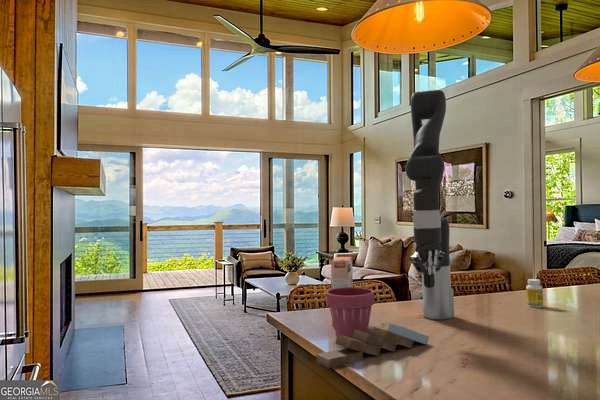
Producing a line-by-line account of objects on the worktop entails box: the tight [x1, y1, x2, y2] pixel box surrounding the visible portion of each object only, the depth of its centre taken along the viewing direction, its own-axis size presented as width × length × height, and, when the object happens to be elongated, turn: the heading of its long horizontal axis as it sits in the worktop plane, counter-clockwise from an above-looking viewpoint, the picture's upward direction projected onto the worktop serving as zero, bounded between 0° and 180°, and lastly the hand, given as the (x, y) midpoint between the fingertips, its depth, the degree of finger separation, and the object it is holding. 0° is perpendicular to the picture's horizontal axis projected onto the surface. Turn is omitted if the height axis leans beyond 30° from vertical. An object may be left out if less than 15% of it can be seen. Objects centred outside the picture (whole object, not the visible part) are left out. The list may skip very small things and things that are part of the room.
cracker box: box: [330, 256, 354, 327], centre depth 156 cm, size 14×6×21 cm, turn 168°
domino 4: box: [370, 326, 415, 349], centre depth 124 cm, size 2×5×10 cm
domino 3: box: [353, 329, 397, 353], centre depth 121 cm, size 2×5×10 cm
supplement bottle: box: [525, 278, 544, 308], centre depth 171 cm, size 5×5×10 cm
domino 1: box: [315, 347, 364, 369], centre depth 115 cm, size 2×5×10 cm
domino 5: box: [387, 323, 430, 345], centre depth 127 cm, size 2×5×10 cm
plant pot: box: [325, 286, 375, 339], centre depth 140 cm, size 14×14×13 cm
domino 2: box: [335, 335, 382, 357], centre depth 118 cm, size 2×5×10 cm
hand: (429, 287), depth 134 cm, fingers closed
